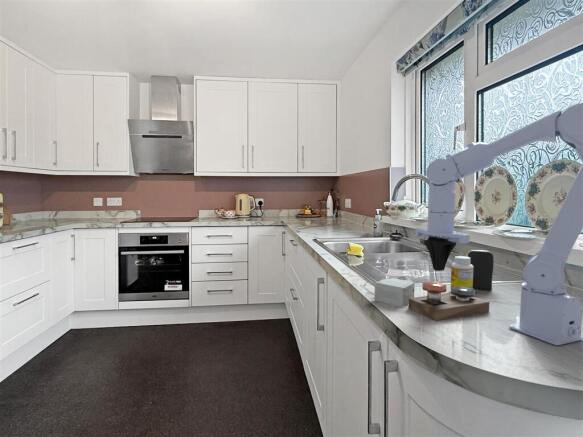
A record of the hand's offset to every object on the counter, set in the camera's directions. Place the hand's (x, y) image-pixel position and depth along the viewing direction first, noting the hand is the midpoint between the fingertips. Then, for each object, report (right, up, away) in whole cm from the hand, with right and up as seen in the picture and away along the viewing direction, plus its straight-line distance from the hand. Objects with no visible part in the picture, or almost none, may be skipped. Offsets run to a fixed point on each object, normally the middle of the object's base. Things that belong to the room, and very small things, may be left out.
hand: (438, 270), depth 82 cm
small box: (-8, -10, +9) cm, 15 cm away
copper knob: (-1, -8, 0) cm, 8 cm away
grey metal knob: (+7, -9, +3) cm, 12 cm away
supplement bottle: (+13, -9, +16) cm, 23 cm away
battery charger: (+21, -9, +22) cm, 31 cm away
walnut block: (+3, -10, +2) cm, 11 cm away
